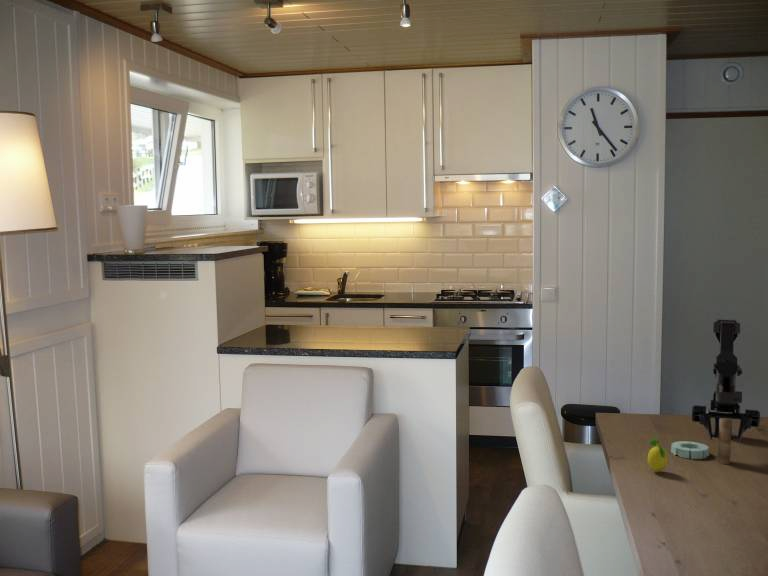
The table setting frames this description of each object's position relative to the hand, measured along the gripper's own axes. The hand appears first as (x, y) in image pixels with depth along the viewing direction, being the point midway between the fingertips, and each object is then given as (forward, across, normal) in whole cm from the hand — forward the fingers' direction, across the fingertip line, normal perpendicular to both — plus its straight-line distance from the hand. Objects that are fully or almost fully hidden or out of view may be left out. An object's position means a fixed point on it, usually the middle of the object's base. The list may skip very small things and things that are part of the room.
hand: (724, 440), depth 244 cm
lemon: (+16, -18, -6) cm, 25 cm away
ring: (0, -10, +10) cm, 14 cm away
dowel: (+4, 0, +6) cm, 7 cm away
